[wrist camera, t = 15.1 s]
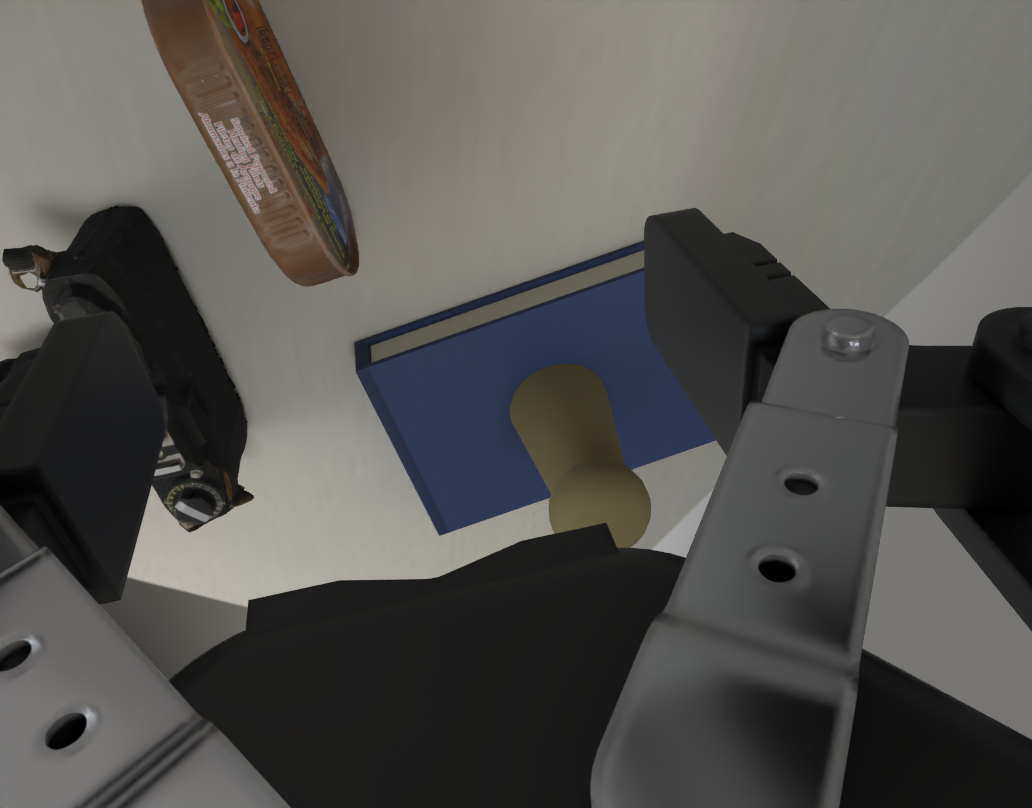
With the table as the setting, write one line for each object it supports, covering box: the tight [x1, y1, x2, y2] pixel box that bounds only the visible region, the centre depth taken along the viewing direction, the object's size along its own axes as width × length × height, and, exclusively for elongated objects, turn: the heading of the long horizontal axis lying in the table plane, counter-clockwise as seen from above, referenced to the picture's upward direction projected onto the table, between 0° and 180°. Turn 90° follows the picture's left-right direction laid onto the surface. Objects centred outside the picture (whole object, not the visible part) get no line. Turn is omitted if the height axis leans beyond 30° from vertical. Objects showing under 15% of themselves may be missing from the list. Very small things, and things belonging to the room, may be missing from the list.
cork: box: [510, 363, 651, 548], centre depth 43 cm, size 6×6×11 cm
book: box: [355, 241, 716, 536], centre depth 49 cm, size 20×14×3 cm
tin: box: [142, 0, 359, 286], centre depth 34 cm, size 15×3×8 cm, turn 16°
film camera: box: [0, 206, 254, 532], centre depth 40 cm, size 18×12×10 cm
